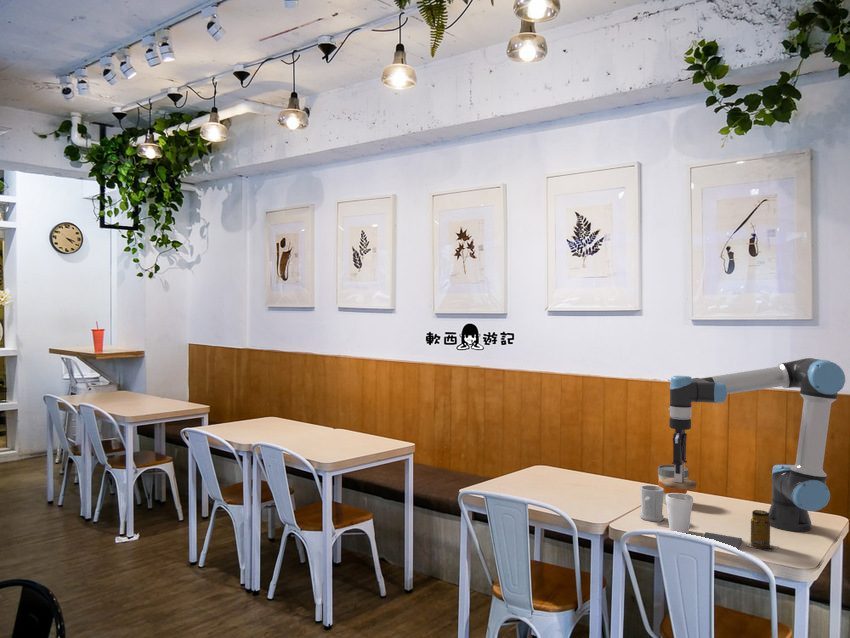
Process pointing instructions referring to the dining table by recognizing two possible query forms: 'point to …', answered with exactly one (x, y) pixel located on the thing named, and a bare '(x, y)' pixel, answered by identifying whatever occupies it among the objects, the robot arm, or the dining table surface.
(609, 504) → the dining table surface
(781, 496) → the robot arm
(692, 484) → the lid
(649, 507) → the cup
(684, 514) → the foam cup
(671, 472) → the reusable coffee cup
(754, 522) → the condiment
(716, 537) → the mat
